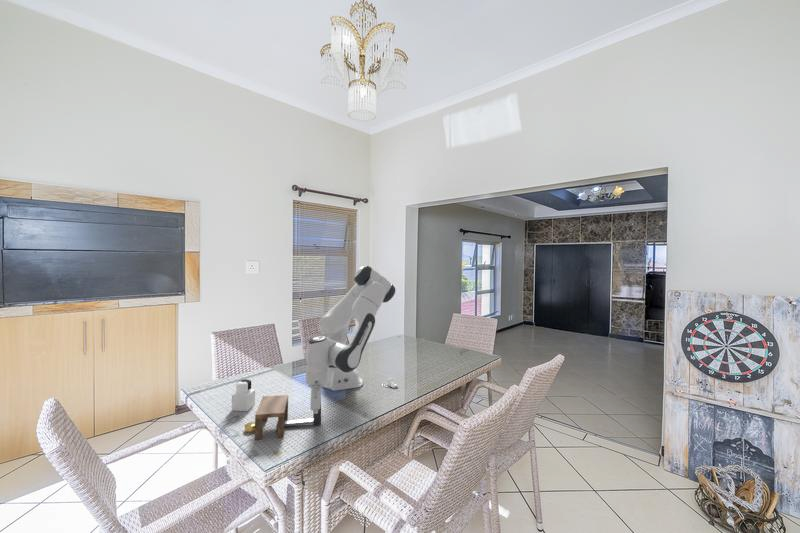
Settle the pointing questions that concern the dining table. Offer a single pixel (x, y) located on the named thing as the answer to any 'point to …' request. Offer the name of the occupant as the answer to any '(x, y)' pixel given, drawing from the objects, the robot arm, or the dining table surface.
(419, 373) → the dining table surface
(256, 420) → the wooden arch block
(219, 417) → the dining table surface
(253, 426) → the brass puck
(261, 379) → the dining table surface
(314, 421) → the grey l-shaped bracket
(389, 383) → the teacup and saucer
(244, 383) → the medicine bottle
